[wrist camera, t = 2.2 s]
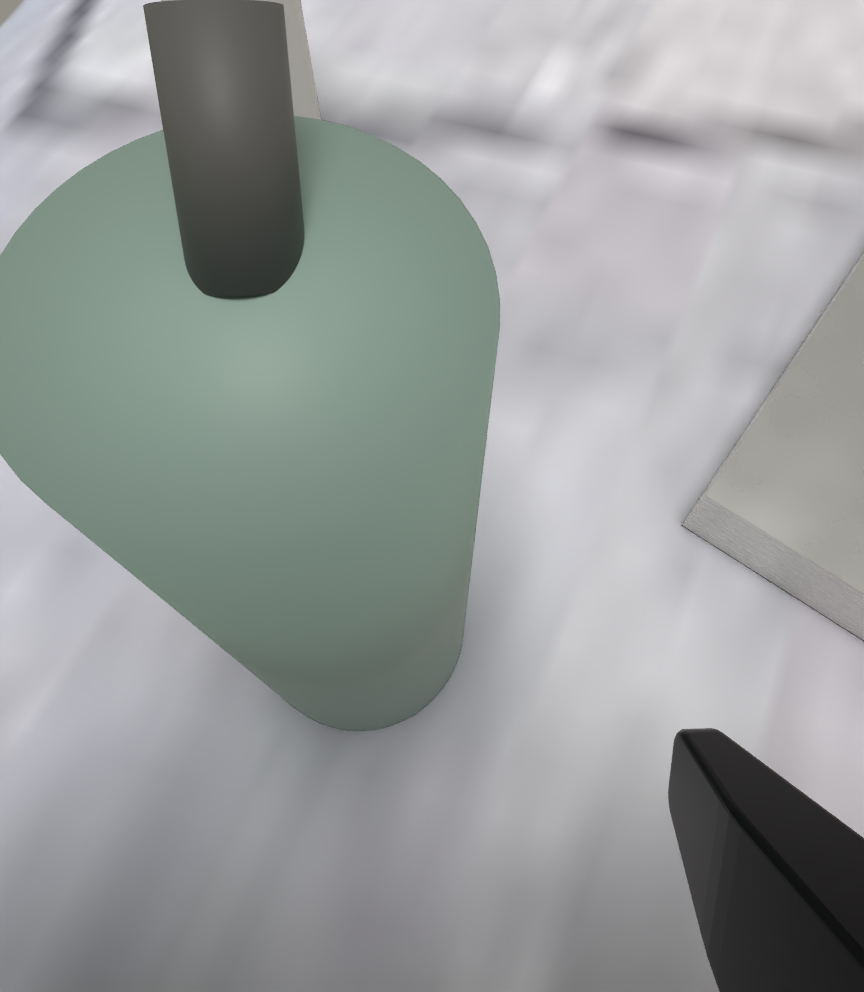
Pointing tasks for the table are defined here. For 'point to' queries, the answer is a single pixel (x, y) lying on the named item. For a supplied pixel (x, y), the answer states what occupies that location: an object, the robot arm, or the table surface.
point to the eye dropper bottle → (299, 61)
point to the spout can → (262, 374)
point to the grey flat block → (803, 472)
